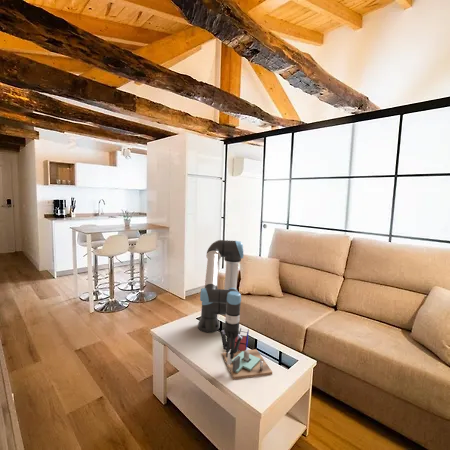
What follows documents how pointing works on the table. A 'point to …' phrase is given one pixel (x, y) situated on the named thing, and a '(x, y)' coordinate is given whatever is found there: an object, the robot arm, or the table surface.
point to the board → (247, 372)
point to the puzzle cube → (244, 340)
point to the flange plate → (240, 364)
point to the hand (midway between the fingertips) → (229, 363)
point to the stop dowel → (261, 365)
